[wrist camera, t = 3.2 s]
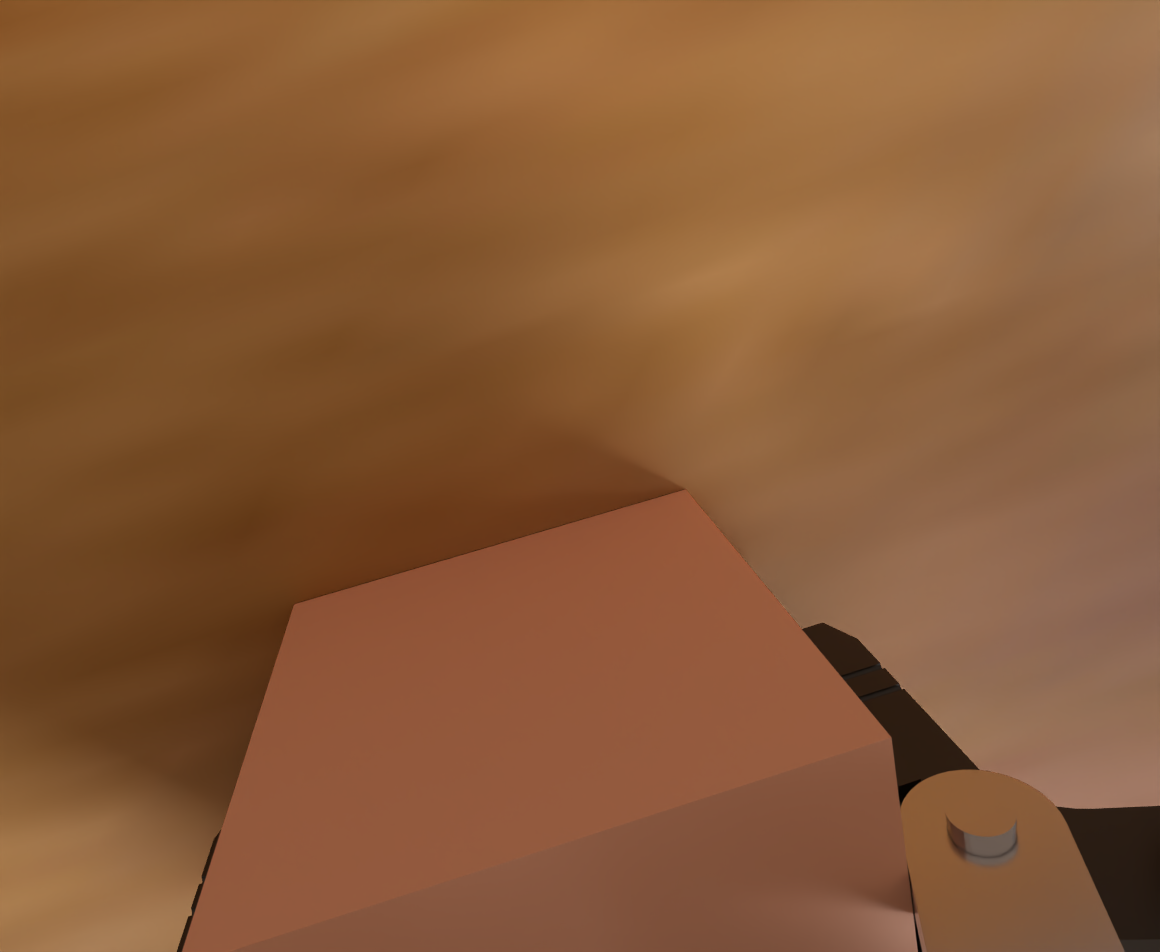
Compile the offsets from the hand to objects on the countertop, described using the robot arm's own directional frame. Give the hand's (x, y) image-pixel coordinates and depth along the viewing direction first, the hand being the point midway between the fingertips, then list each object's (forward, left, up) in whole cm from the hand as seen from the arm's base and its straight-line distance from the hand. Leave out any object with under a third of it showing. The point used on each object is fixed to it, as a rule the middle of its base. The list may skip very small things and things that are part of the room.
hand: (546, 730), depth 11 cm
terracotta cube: (0, 0, 0) cm, 0 cm away
